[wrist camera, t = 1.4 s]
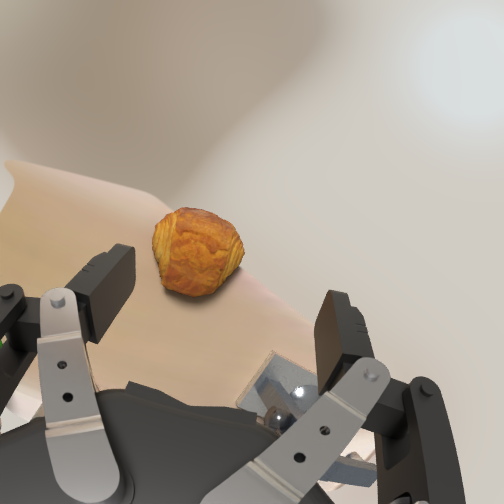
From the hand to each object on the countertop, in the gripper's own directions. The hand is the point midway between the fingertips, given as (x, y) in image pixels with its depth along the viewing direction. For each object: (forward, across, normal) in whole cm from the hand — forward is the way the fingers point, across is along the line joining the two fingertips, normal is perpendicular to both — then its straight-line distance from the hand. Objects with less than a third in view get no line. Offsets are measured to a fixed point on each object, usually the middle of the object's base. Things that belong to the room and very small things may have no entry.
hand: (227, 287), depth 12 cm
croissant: (+36, -9, -20) cm, 42 cm away
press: (+29, +14, -44) cm, 55 cm away
